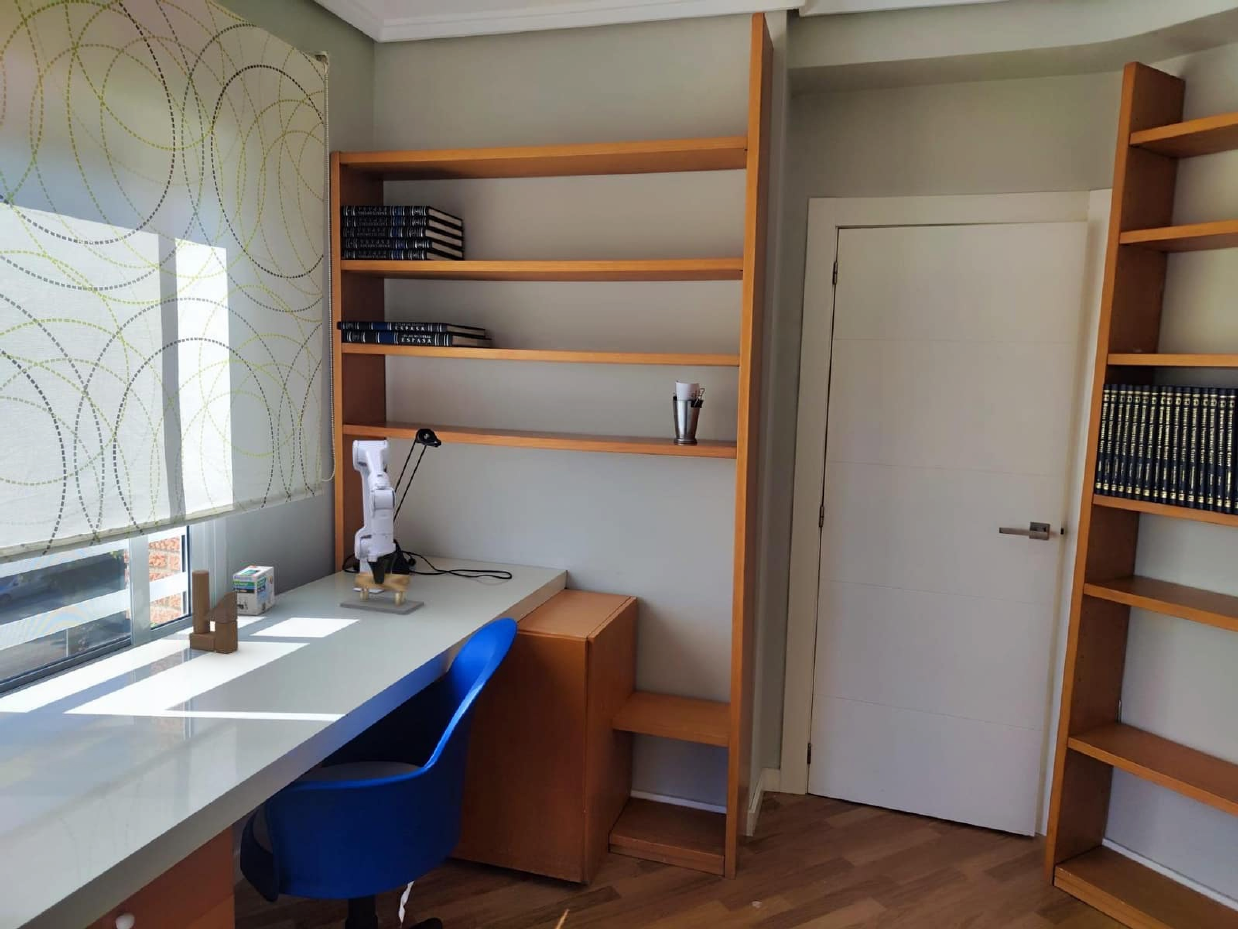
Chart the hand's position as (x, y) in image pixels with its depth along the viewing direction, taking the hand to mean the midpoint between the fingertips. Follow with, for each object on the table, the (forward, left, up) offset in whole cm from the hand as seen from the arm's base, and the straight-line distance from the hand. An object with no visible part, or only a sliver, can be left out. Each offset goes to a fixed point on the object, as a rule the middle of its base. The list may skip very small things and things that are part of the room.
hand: (382, 581), depth 234 cm
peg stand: (0, 0, -7) cm, 7 cm away
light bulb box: (+16, -29, -7) cm, 34 cm away
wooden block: (+45, -16, -7) cm, 48 cm away
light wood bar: (0, 0, -2) cm, 2 cm away
